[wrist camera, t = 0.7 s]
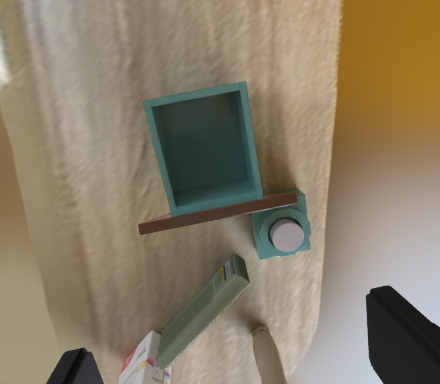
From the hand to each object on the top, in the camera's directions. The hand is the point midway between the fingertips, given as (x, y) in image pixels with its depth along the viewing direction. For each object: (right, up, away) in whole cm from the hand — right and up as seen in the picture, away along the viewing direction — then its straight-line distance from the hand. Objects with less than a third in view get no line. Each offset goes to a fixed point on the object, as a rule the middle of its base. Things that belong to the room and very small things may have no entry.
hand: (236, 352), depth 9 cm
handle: (+7, -20, +42) cm, 47 cm away
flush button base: (+8, +1, +35) cm, 36 cm away
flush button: (+9, 0, +31) cm, 32 cm away
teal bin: (-3, +12, +31) cm, 33 cm away
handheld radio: (-5, -14, +39) cm, 42 cm away
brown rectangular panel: (-1, +4, +18) cm, 18 cm away
